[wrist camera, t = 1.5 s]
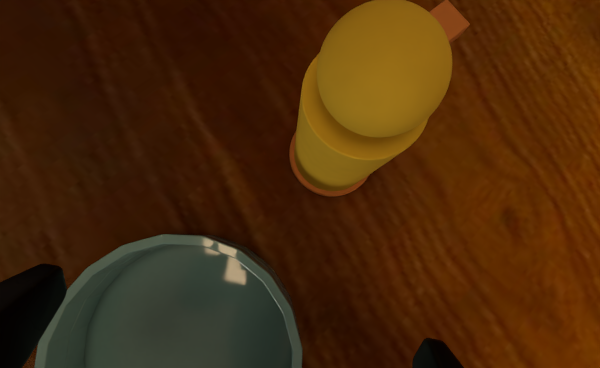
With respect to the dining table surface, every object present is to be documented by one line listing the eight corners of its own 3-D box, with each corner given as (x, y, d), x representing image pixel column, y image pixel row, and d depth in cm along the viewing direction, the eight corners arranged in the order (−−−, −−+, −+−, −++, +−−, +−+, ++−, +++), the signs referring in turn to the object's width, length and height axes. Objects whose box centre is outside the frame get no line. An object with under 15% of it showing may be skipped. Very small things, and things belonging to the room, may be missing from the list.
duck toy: (325, 214, 22) (395, 182, 8) (272, 149, 23) (253, 17, 9) (396, 155, 23) (567, 37, 9) (343, 93, 23) (429, -108, 10)
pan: (323, 419, 20) (333, 464, 16) (105, 492, 19) (58, 558, 15) (268, 211, 22) (264, 206, 18) (63, 266, 21) (12, 274, 17)
